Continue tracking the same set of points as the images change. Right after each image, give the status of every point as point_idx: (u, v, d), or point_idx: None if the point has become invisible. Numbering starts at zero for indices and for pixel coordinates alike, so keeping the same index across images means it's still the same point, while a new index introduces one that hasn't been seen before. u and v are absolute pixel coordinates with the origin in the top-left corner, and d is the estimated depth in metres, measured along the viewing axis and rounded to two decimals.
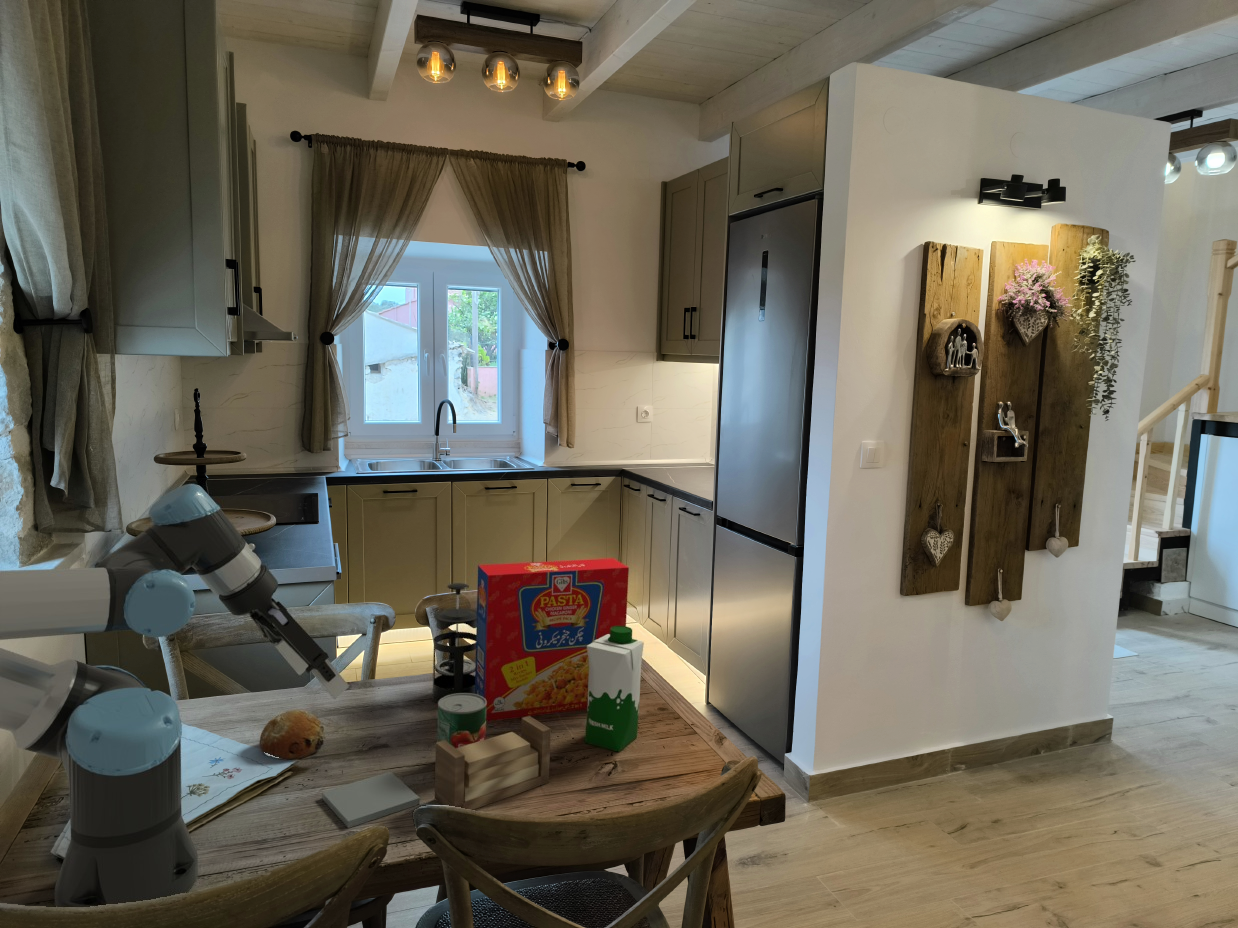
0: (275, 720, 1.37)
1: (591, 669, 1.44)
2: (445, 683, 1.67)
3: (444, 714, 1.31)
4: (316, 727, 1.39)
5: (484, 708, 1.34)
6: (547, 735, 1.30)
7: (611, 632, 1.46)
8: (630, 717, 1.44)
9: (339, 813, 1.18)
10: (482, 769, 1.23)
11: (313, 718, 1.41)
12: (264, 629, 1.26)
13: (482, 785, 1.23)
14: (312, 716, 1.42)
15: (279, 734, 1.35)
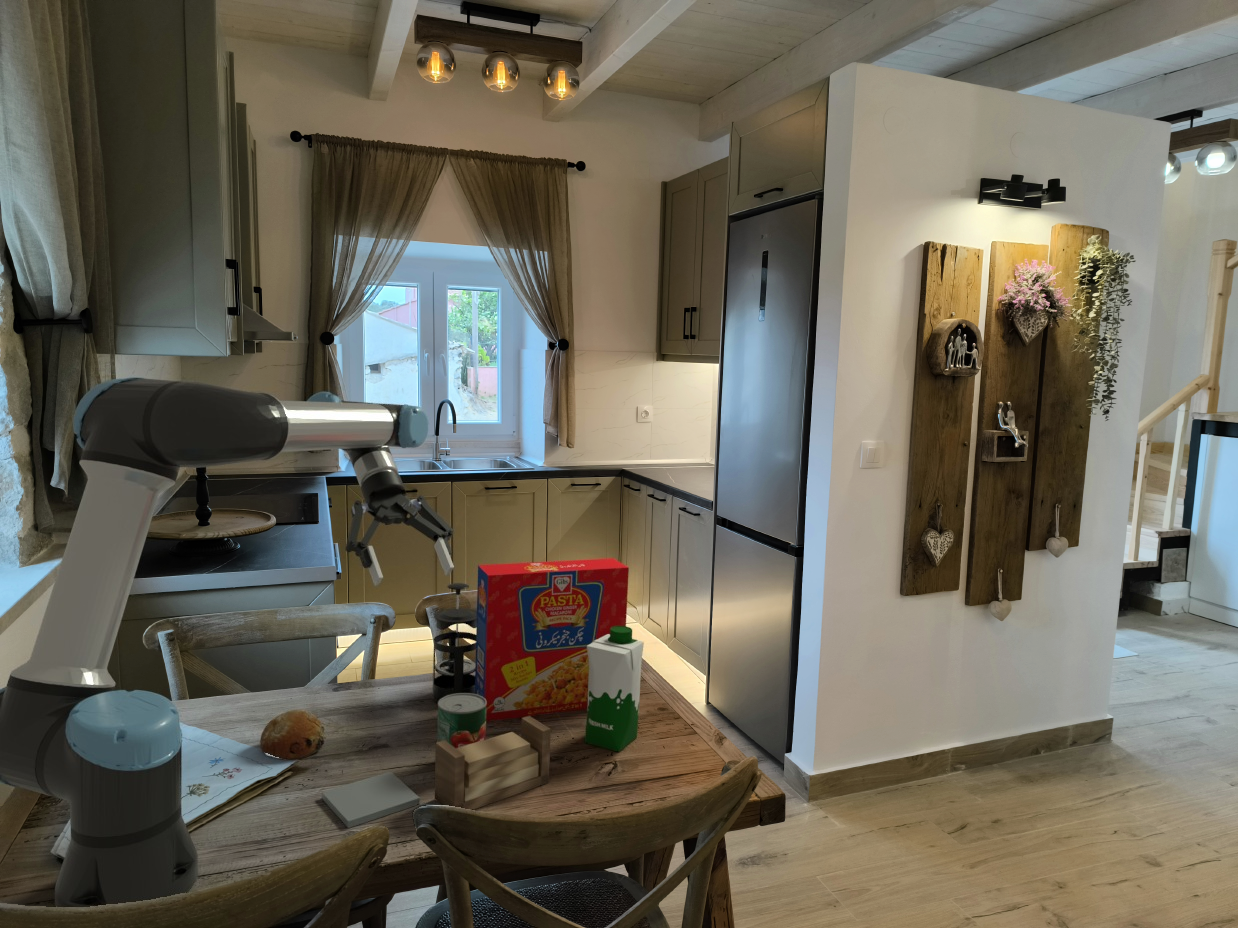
0: (276, 720, 1.37)
1: (591, 669, 1.44)
2: (445, 683, 1.67)
3: (444, 714, 1.31)
4: (317, 727, 1.39)
5: (484, 708, 1.34)
6: (547, 735, 1.30)
7: (611, 632, 1.46)
8: (630, 717, 1.44)
9: (339, 813, 1.18)
10: (482, 769, 1.23)
11: (314, 718, 1.41)
12: (373, 525, 1.46)
13: (482, 785, 1.23)
14: (313, 716, 1.42)
15: (280, 734, 1.35)
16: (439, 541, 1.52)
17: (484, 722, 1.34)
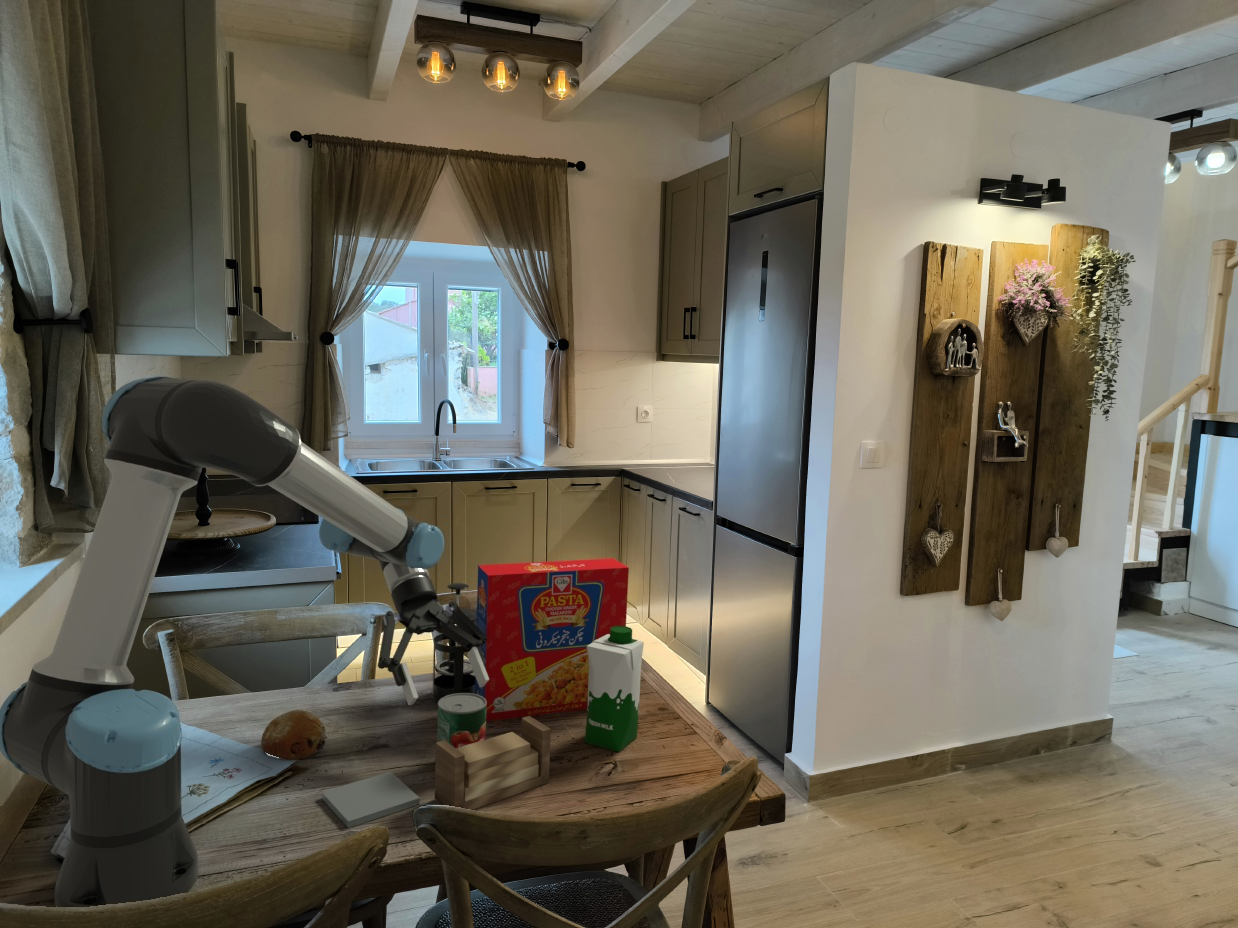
0: (277, 720, 1.37)
1: (591, 669, 1.44)
2: (445, 683, 1.67)
3: (444, 714, 1.31)
4: (318, 727, 1.39)
5: (484, 708, 1.34)
6: (547, 735, 1.30)
7: (611, 632, 1.46)
8: (630, 717, 1.44)
9: (339, 813, 1.18)
10: (482, 769, 1.23)
11: (315, 718, 1.41)
12: (405, 638, 1.40)
13: (482, 785, 1.23)
14: (314, 716, 1.42)
15: (281, 734, 1.35)
16: (473, 651, 1.46)
17: (484, 722, 1.34)
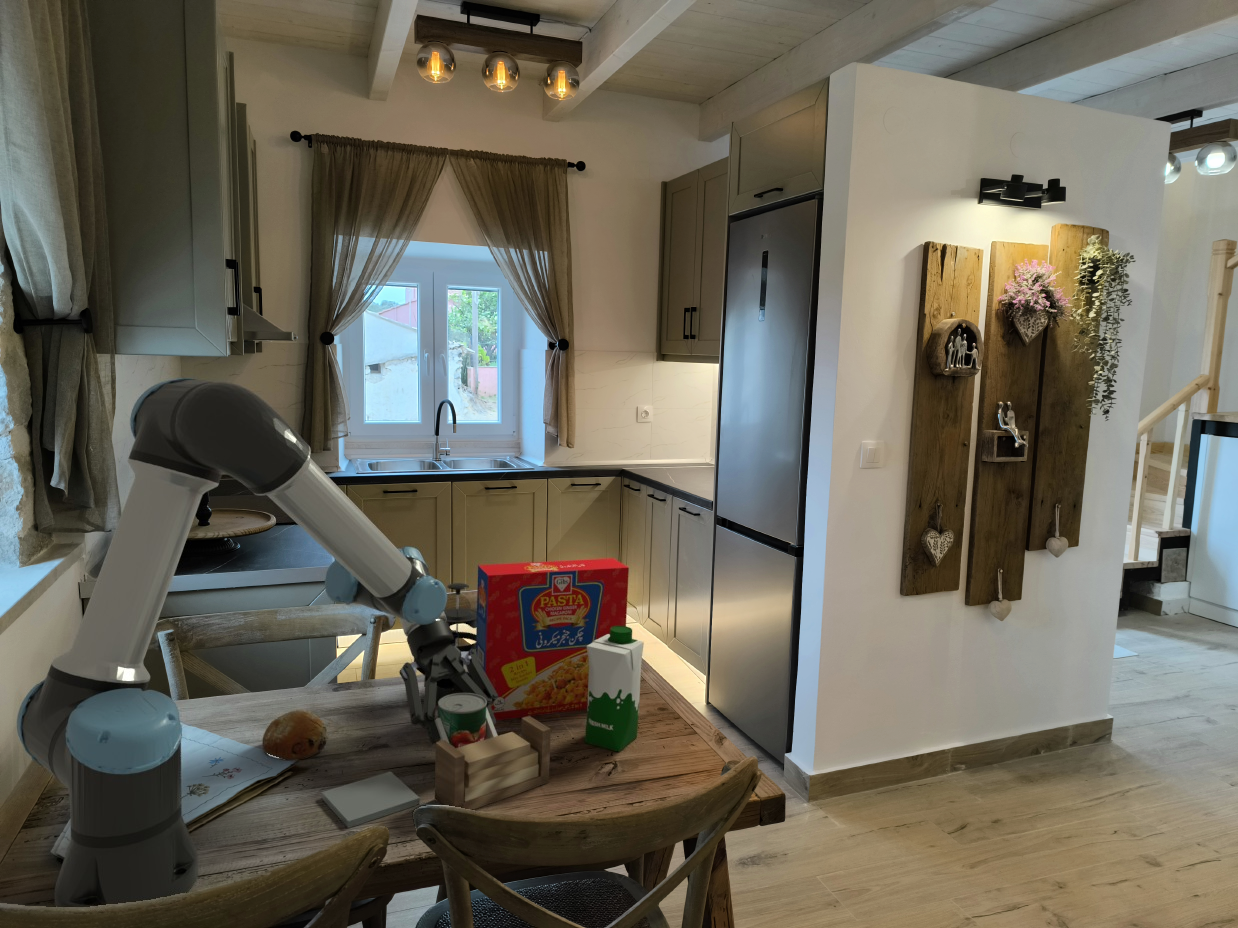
0: (278, 720, 1.37)
1: (591, 669, 1.44)
2: (445, 683, 1.67)
3: (444, 714, 1.31)
4: (319, 727, 1.39)
5: (484, 708, 1.34)
6: (547, 735, 1.30)
7: (611, 632, 1.46)
8: (630, 717, 1.44)
9: (339, 813, 1.18)
10: (482, 769, 1.23)
11: (316, 718, 1.41)
12: (431, 690, 1.35)
13: (482, 785, 1.23)
14: (315, 716, 1.41)
15: (282, 734, 1.35)
16: None
17: (484, 722, 1.34)
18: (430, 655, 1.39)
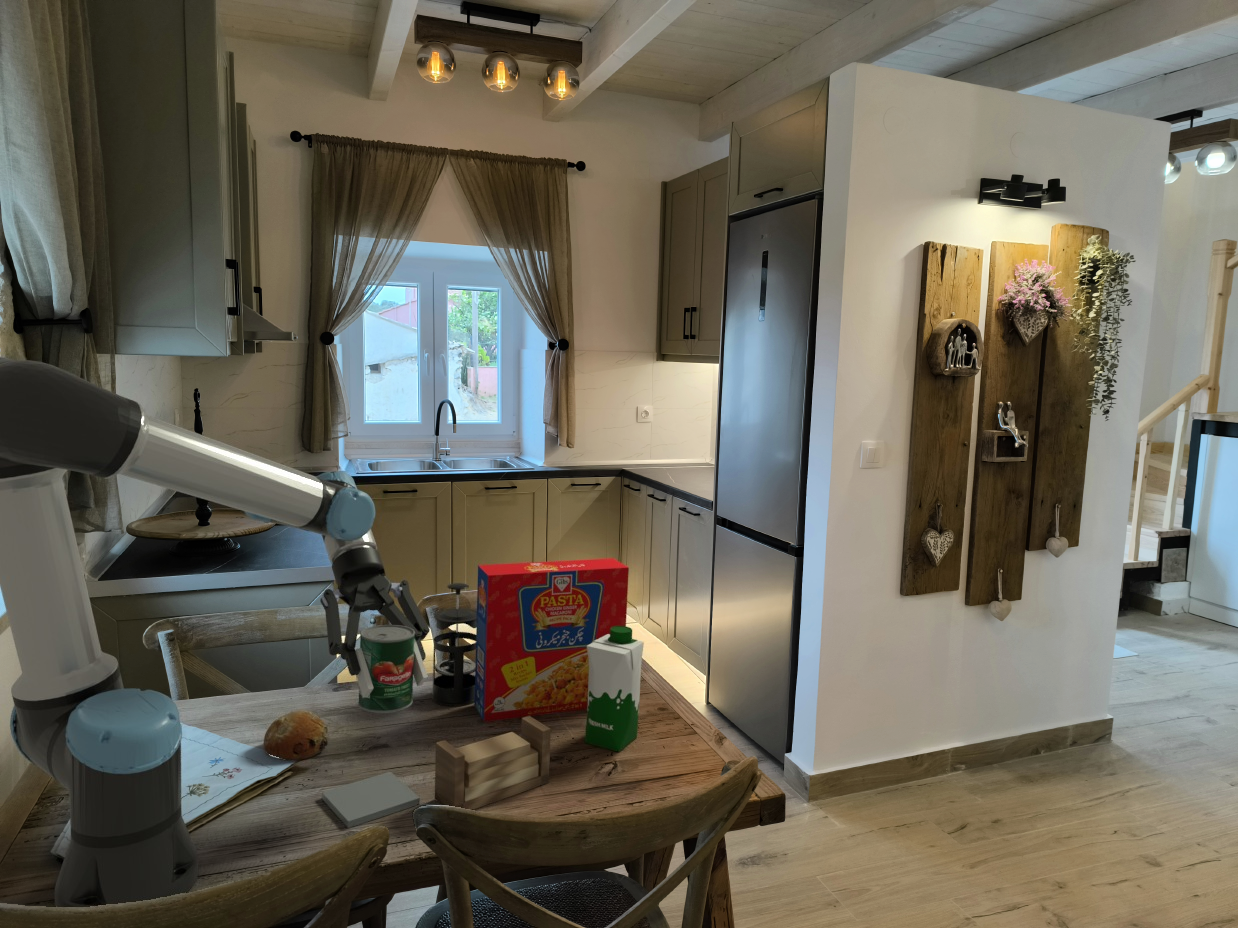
0: (279, 721, 1.37)
1: (591, 669, 1.44)
2: (445, 683, 1.67)
3: (366, 643, 1.19)
4: (320, 728, 1.38)
5: (411, 639, 1.22)
6: (547, 735, 1.30)
7: (611, 632, 1.46)
8: (630, 717, 1.44)
9: (339, 813, 1.18)
10: (482, 769, 1.23)
11: (317, 719, 1.41)
12: (354, 619, 1.23)
13: (482, 785, 1.23)
14: (316, 717, 1.41)
15: (283, 735, 1.35)
16: None
17: (411, 654, 1.22)
18: (355, 583, 1.27)
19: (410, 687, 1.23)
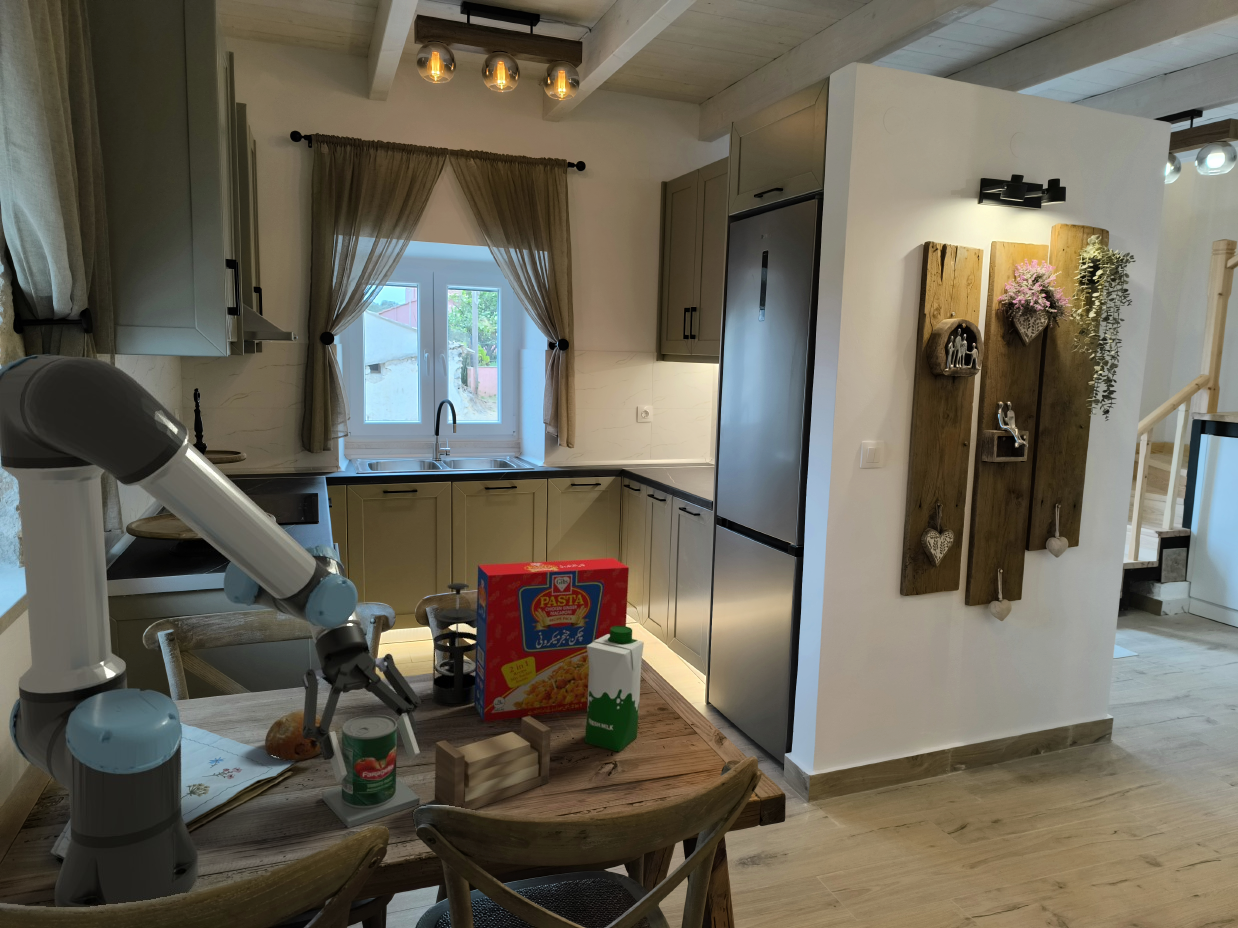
0: (280, 721, 1.37)
1: (591, 669, 1.44)
2: (445, 683, 1.67)
3: (347, 739, 1.19)
4: None
5: (393, 732, 1.21)
6: (547, 735, 1.30)
7: (611, 632, 1.46)
8: (630, 717, 1.44)
9: (339, 813, 1.18)
10: (482, 769, 1.23)
11: (319, 719, 1.41)
12: (332, 701, 1.22)
13: (482, 785, 1.23)
14: (317, 717, 1.41)
15: (285, 735, 1.35)
16: (402, 718, 1.26)
17: (393, 747, 1.22)
18: (340, 665, 1.26)
19: (393, 779, 1.22)
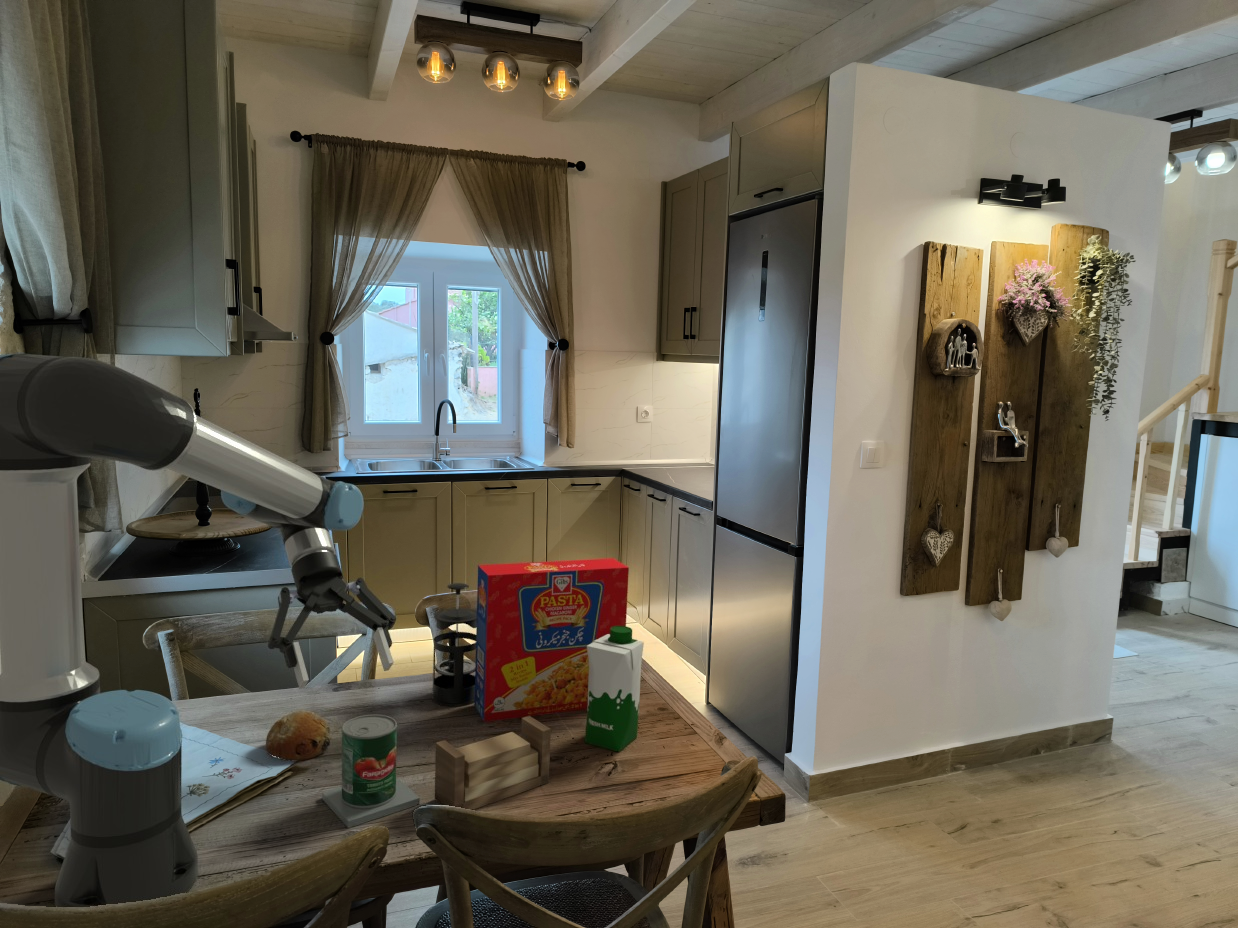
0: (281, 721, 1.37)
1: (591, 669, 1.44)
2: (445, 683, 1.67)
3: (347, 739, 1.19)
4: (322, 728, 1.38)
5: (393, 732, 1.21)
6: (547, 735, 1.30)
7: (611, 632, 1.46)
8: (630, 717, 1.44)
9: (339, 813, 1.18)
10: (482, 769, 1.23)
11: (320, 719, 1.41)
12: (301, 617, 1.29)
13: (482, 785, 1.23)
14: (318, 717, 1.41)
15: (285, 735, 1.35)
16: (378, 632, 1.35)
17: (393, 747, 1.22)
18: (314, 589, 1.34)
19: (393, 779, 1.22)
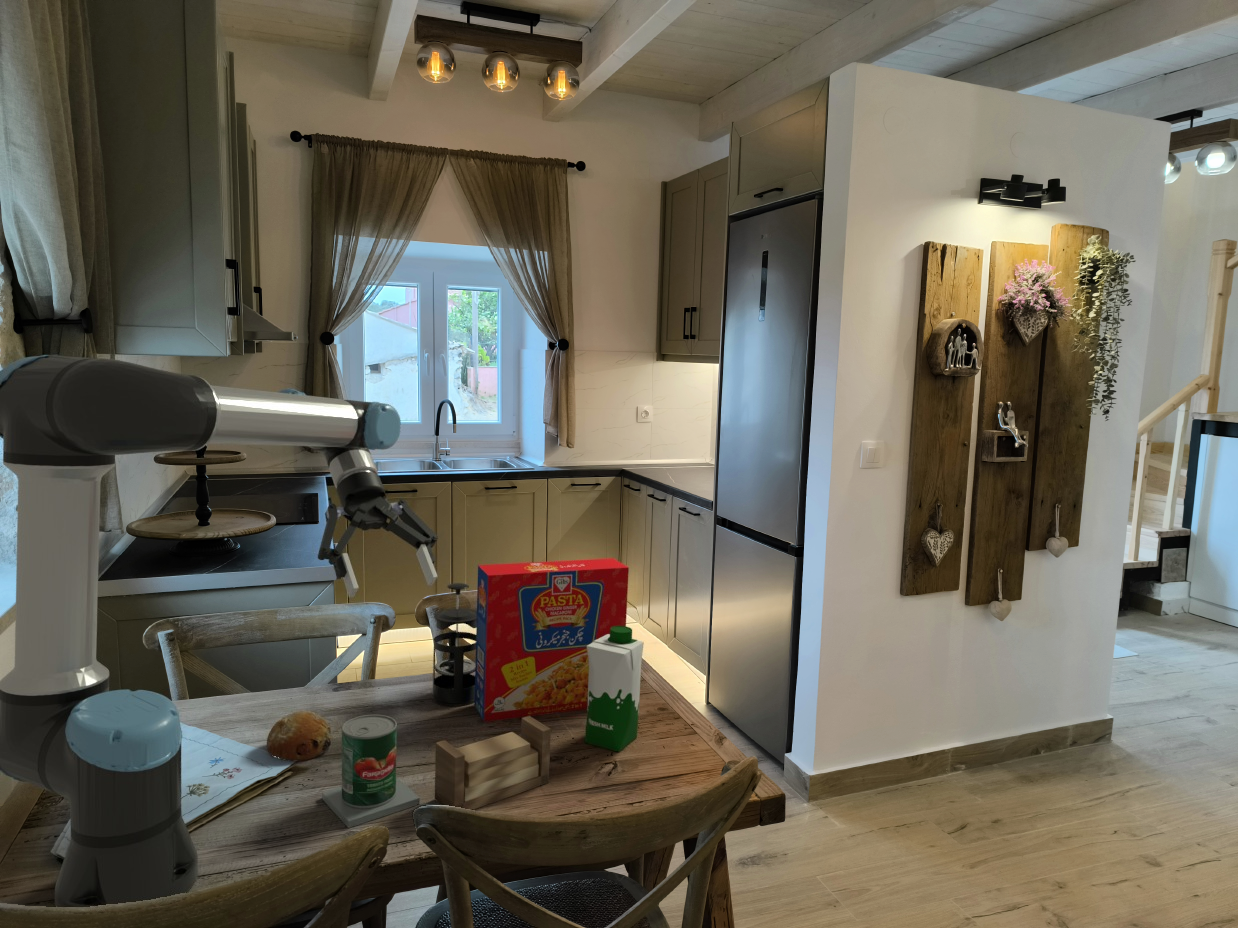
0: (282, 721, 1.37)
1: (591, 669, 1.44)
2: (445, 683, 1.67)
3: (347, 739, 1.19)
4: (323, 728, 1.38)
5: (393, 732, 1.21)
6: (547, 735, 1.30)
7: (611, 632, 1.46)
8: (630, 717, 1.44)
9: (339, 813, 1.18)
10: (482, 769, 1.23)
11: (321, 719, 1.41)
12: (348, 531, 1.34)
13: (482, 785, 1.23)
14: (319, 717, 1.41)
15: (286, 735, 1.35)
16: (421, 548, 1.39)
17: (393, 747, 1.22)
18: (360, 506, 1.38)
19: (393, 779, 1.22)
